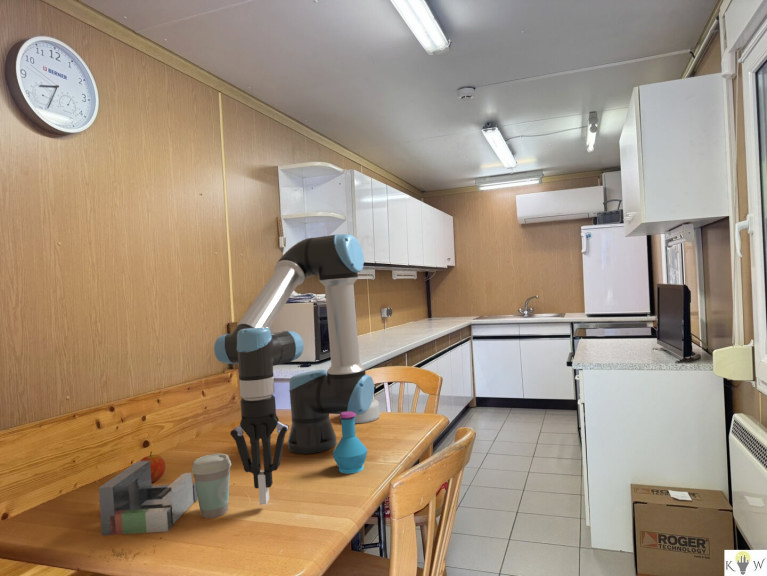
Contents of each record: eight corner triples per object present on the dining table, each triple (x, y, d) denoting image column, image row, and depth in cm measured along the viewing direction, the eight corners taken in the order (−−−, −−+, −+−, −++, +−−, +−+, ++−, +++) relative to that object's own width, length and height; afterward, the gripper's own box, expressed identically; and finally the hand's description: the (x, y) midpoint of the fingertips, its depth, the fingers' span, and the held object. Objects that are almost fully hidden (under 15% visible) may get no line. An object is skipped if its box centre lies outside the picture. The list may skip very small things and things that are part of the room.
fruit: (147, 488, 129) (145, 457, 129) (132, 484, 133) (130, 454, 133) (171, 478, 135) (169, 449, 135) (156, 475, 139) (154, 446, 139)
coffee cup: (222, 521, 107) (218, 466, 107) (186, 520, 108) (182, 465, 108) (241, 504, 115) (237, 452, 115) (207, 503, 117) (204, 452, 117)
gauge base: (197, 499, 120) (195, 457, 120) (167, 531, 104) (164, 483, 104) (140, 502, 120) (137, 461, 120) (101, 535, 104) (98, 487, 104)
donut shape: (342, 426, 176) (341, 407, 176) (337, 416, 191) (336, 399, 191) (383, 421, 179) (382, 403, 179) (376, 412, 194) (375, 395, 194)
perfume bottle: (373, 463, 136) (369, 409, 136) (360, 476, 127) (356, 417, 127) (342, 462, 139) (338, 408, 139) (328, 474, 130) (324, 417, 130)
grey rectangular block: (193, 502, 117) (191, 471, 117) (166, 531, 103) (164, 495, 103) (155, 504, 118) (153, 473, 118) (124, 533, 104) (121, 498, 104)
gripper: (290, 391, 115) (296, 493, 115) (234, 395, 116) (240, 496, 115) (282, 398, 108) (289, 507, 108) (223, 402, 108) (230, 510, 108)
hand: (264, 501), depth 111 cm, fingers closed
